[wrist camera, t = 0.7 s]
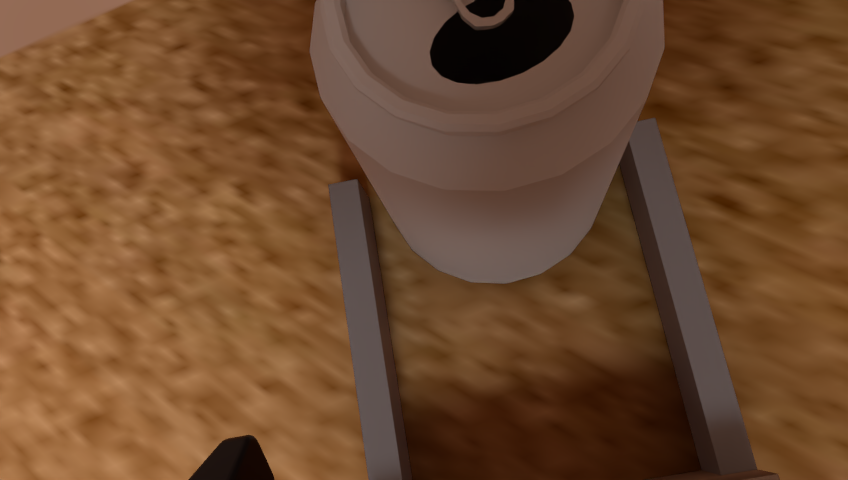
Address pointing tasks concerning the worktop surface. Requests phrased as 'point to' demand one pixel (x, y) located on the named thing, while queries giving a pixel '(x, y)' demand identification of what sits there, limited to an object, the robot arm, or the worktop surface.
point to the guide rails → (673, 288)
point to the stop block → (722, 476)
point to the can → (488, 117)
